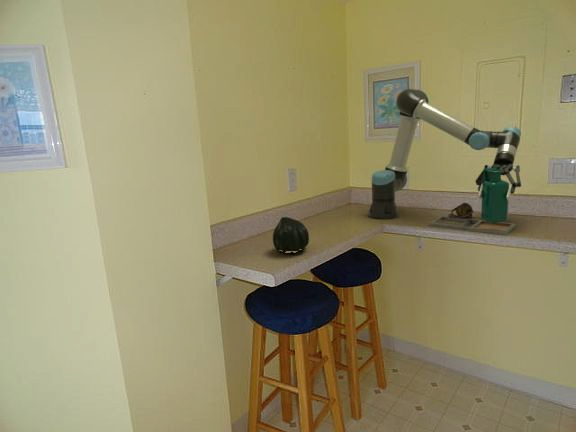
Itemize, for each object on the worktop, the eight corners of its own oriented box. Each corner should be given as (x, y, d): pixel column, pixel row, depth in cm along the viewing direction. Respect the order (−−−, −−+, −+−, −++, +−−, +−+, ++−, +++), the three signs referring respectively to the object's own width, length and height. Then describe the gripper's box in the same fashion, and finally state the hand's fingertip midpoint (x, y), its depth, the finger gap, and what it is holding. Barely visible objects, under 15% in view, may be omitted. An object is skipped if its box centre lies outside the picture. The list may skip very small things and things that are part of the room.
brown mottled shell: (480, 208, 186) (468, 200, 195) (455, 208, 184) (444, 200, 193) (476, 221, 189) (464, 213, 198) (452, 221, 187) (441, 213, 196)
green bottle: (509, 221, 164) (512, 169, 159) (490, 223, 164) (492, 171, 159) (496, 216, 174) (498, 167, 169) (477, 218, 174) (479, 169, 169)
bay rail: (428, 225, 181) (428, 222, 180) (441, 218, 192) (441, 216, 191) (506, 235, 159) (506, 231, 159) (515, 226, 171) (515, 223, 170)
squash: (322, 237, 153) (300, 207, 157) (297, 248, 143) (275, 216, 147) (303, 254, 163) (283, 226, 166) (279, 266, 152) (258, 236, 156)
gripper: (535, 162, 167) (525, 205, 159) (479, 162, 182) (467, 201, 174) (534, 151, 162) (523, 194, 154) (476, 152, 177) (463, 191, 169)
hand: (493, 198), depth 164 cm, fingers closed on green bottle, 10 cm apart
